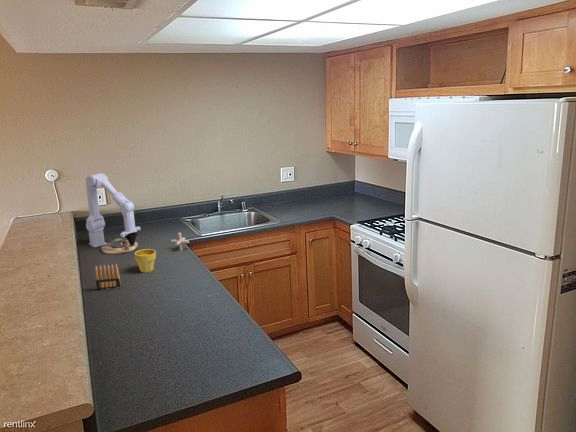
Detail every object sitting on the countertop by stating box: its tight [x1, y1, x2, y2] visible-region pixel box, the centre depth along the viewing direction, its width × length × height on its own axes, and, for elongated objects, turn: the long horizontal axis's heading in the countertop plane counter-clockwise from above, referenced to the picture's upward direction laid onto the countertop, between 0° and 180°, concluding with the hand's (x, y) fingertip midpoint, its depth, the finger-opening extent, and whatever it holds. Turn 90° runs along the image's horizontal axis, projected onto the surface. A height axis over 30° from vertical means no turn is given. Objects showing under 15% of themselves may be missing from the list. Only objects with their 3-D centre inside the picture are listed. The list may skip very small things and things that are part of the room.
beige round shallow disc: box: [100, 239, 139, 255], centre depth 264 cm, size 20×20×4 cm
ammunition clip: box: [94, 263, 122, 290], centre depth 210 cm, size 11×2×12 cm, turn 101°
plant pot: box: [134, 248, 157, 273], centre depth 231 cm, size 10×10×10 cm
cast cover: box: [109, 237, 128, 248], centre depth 264 cm, size 9×9×4 cm
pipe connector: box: [171, 232, 190, 251], centre depth 260 cm, size 10×10×10 cm
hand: (132, 245), depth 262 cm, fingers closed
